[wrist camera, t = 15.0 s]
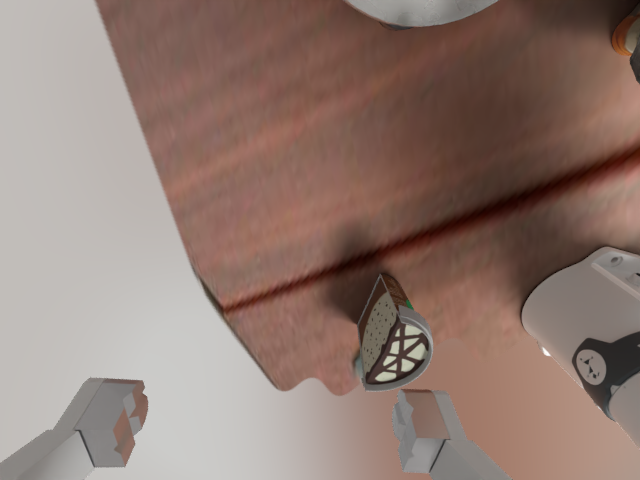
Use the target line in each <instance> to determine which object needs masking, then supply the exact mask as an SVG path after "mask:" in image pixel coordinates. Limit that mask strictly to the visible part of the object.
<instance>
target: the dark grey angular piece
mask: <svg viewBox="0 0 640 480" xmlns="http://www.w3.org/2000/svg"><path fill="white" fill-rule="evenodd" d="M612 45H613V47H614V49H615V50H616V52H617V53H619V54H621V55H628V56H631V57H630V65H631V67H632V69H633V72H634V75H635V77H636V80H637V81H638V83H639V84H640V2H639V3H638V4H637V6H636V7H635V9H634V10H633V11H632V12H631V13H630V14H629V15H628V16H627V17H626V18H624V20H622V22H621V23H620V24H619V25H618V26H617V28H616V29H615V31H614V33H613V36H612Z"/></svg>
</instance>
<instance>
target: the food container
mask: <svg viewBox="0 0 640 480" xmlns="http://www.w3.org/2000/svg"><path fill="white" fill-rule="evenodd" d="M357 328H358V337H359V345H360V353H361V361H362V370H363V378H362V383H363V386H364V387H365V391H387V390H392V389H396V388H399V387H402V386H404V385H406V384H408V383H410V382H412V381H413V380H415V379H416V378H418V377H419V376H420V375H421V374H422V373H423V372H424V371H425V370H426V368H427V367H428V365H429V363H430V361H431V358H432V352H433V341H432V334H431V329H430V327H429V324H428V323H427V321H426V320H425V319H424V318H423V317H422V316H421V315H420V314H419V313H417V312H416V311H414V309H413V307H412V305H411V303H410V302H409V300H408V298H407V296H406V294H405V292H404V291H403V289H402V287H401V286H400V284H399V283H398V282H397V281H396V280H395V279H393V278H392V277H390V276H388V275H385V274H382V273H380V275H379V277H378V279H377V281H376V284H375V286H374V288H373V290H372V293H371V295H370V297H369V299H368V302H367V304H366V306H365V308H364V311H363V313H362V315H361V317H360V320H359V322H358V324H357Z"/></svg>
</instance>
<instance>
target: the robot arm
mask: <svg viewBox="0 0 640 480" xmlns="http://www.w3.org/2000/svg"><path fill="white" fill-rule="evenodd" d="M522 323H523V326H524V328H525V330H526V331H527V332H528V333H529V334H530V335H531V336H532V337H534V338H535V339H536V340H537V342H538V346H539V349H540V350H541V351H542V352H543V353H544V354H545V355H547V356H552V357H553V358H554V359H555V360H556V361H557V363H558V364H559V365H560V366H561V367H562V368H563V369H564V370H565V371H566V372H567V373H568V374H569V375H570V376H571V377H572V378H573V379H574V380H575V381H576V382H577V383H578V384H579V385H580V386H581V387H582V388H584V389H585V391H586V392H587V393H588V394H589V396H590V397H591V398H592V399H593V401H594V403H595V404H596V406H597V407H598V408H599V409H600V410H602V411H603V412H604V413H605V415H606V416H607V417H608V418H610V419H611V420H613V421H615V422H617V423H618V424H619V425H620V427H621V428H622V429H623V430H624V432H625V433H626V434H627V435H628V437H629V438H630V439H631V440H632V441H633V443H634V444H635V445H636V446H637V448H638V449H639V450H640V255H636V254H633V253H629V252H626V251H622V250H619V249H615V248H612V247H603V248H600V249H599V250H597V251H595V252H594V253H592V254H591V255H590V256H588V257H587V258H586V259H584V260H583V261H581V262H579V263H577V264H575V265H572V266H570V267H567V268H565V269H563V270H561V271H559V272H557V273H555V274H553V275H552V276H550V277H549V278H547V279H546V280H545V281H543V282H542V283H541V284H540V285H539V286H538V287H537V288H536V289H535V290H534V291H533V292H532V293H531V295H530V296H529V297H528V299H527V301H526V303H525V305H524V307H523V311H522ZM144 388H145V386H144V383H143V381H142V380H125V379H108V378H89V379H88V380H87V381H85V382H84V383H83V385H82V386H81V388H80V389H79V391H78V392H77V394H76V396H75V397H74V399H73V400H72V402H71V403H70V405H69V406H68V408H67V409H66V411H65V412H64V414H63V415H62V417H61V418H60V420H59V421H58V423H57V424H56V426H55V427H54V429H53V430H47V431H45V432H44V433H42V434H41V435H40V436H38V437H36V438H35V439H34V440H32V441H31V442H30V443H28V444H27V445H25V446H24V447H22V448H21V449H20V450H18V451H17V452H15V453H14V454H12V455H11V456H10V457H8V458H7V459H5V460H4V461H2V462H1V463H0V480H84V479H85V478H86V477H87V476H88V475H89V474H90V473H91V472H92V471H93V470H94V467H125V466H126V464H127V462H128V459H129V457H130V455H131V453H132V450H133V448H134V446H135V441H134V437H133V436H134V435H135V434H136V433H137V432H138V431H140V430H141V429H142V427H143V424H144V422H145V419H146V416H147V411H148V399H147V396H146V395H144V394H143V390H144ZM397 397H398V401H399V402H398V403H396V404H395V405H394V408H393V412H392V422H393V430H394V435H395V436H396V437H397V438H398V440H399V441H400V445H399V448H398V452H399V456H400V461H401V465H402V470H403V472H416V473H430V474H429V475H430V476H431V478H432V479H433V480H513V479H511V478H510V477H509V476H508V475H507V474H506V473H505V472H504V471H503V470H502V469H501V468H500V467H499V466H498V465H497V464H496V463H495V462H494V461H493V460H492V459H491V458H490V457H489V456H488V455H487V454H486V453H485V452H484V451H483V450H482V449H481V448H480V447H478V446H477V445H476V444H475V443H474V442H473V441H471V440H467V437H466V435H465V433H464V430H463V428H462V425H461V423H460V420H459V418H458V415H457V413H456V410H455V408H454V406H453V403H452V401H451V398H450V396H449V394H448V393H447V392H446V391H439V390H414V389H412V390H411V389H401V390H400V391H399V392H398V395H397Z"/></svg>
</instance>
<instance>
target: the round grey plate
mask: <svg viewBox="0 0 640 480" xmlns="http://www.w3.org/2000/svg"><path fill="white" fill-rule="evenodd" d="M343 1H344V2H346V3H347V4H348V5H350V6H351V7H352V8H353V9H355V10H357V11H359V12H361V13H362V14H364V15H366V16H368V17H370V18H373V19H375V20H378V21H379V23H380V24H381V25H382V26H384V27H385V28H387V29H389V30H393V31H398V30H405V29H410V28H413V27H425V26H433V25H441V24H445V23H449V22H453V21H457V20H460V19H463V18H465V17H468V16H470V15H472V14H475V13H477V12H479V11H481V10H483V9H485V8H486V7H488V6H490V5H492V4H493V3H495V2H497V1H498V0H343Z"/></svg>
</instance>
